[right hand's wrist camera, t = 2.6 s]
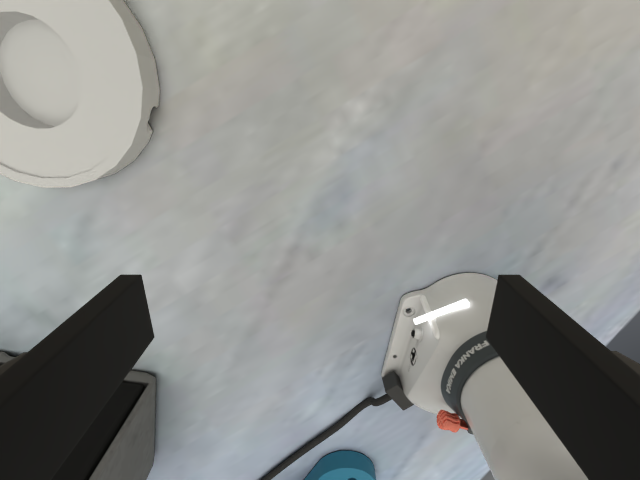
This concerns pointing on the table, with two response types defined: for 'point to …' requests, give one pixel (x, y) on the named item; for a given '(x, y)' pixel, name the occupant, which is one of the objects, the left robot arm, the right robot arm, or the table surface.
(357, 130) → the table surface
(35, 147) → the ashtray
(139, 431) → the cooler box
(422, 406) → the left robot arm
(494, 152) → the table surface
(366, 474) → the camera mount
